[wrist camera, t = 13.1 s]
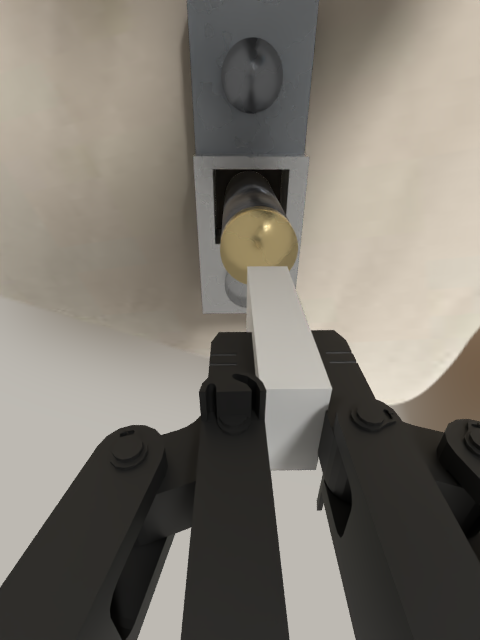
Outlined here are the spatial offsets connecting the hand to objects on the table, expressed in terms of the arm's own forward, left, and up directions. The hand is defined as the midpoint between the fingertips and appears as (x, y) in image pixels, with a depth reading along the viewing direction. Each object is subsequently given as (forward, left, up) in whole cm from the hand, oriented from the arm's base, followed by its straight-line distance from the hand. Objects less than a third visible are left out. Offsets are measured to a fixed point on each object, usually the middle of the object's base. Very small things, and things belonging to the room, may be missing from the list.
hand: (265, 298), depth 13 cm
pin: (0, 0, -18) cm, 18 cm away
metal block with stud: (-2, 0, -18) cm, 18 cm away
